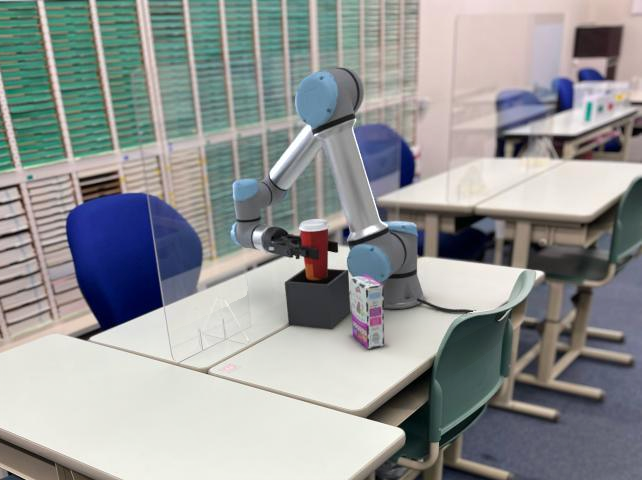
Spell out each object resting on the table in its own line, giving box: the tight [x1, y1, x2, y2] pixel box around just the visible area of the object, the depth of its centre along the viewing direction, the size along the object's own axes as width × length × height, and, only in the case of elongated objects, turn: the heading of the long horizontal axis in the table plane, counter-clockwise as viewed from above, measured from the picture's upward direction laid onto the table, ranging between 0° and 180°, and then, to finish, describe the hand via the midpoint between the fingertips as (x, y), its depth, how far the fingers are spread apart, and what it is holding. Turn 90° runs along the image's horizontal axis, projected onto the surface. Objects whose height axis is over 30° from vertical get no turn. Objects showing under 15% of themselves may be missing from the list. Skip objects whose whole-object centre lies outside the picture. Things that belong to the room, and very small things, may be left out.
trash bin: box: [284, 267, 351, 330], centre depth 200 cm, size 14×14×13 cm
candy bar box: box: [349, 275, 385, 350], centre depth 181 cm, size 11×5×16 cm, turn 18°
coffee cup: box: [298, 218, 330, 280], centre depth 193 cm, size 8×8×15 cm
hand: (327, 251), depth 189 cm, fingers closed on coffee cup, 7 cm apart
